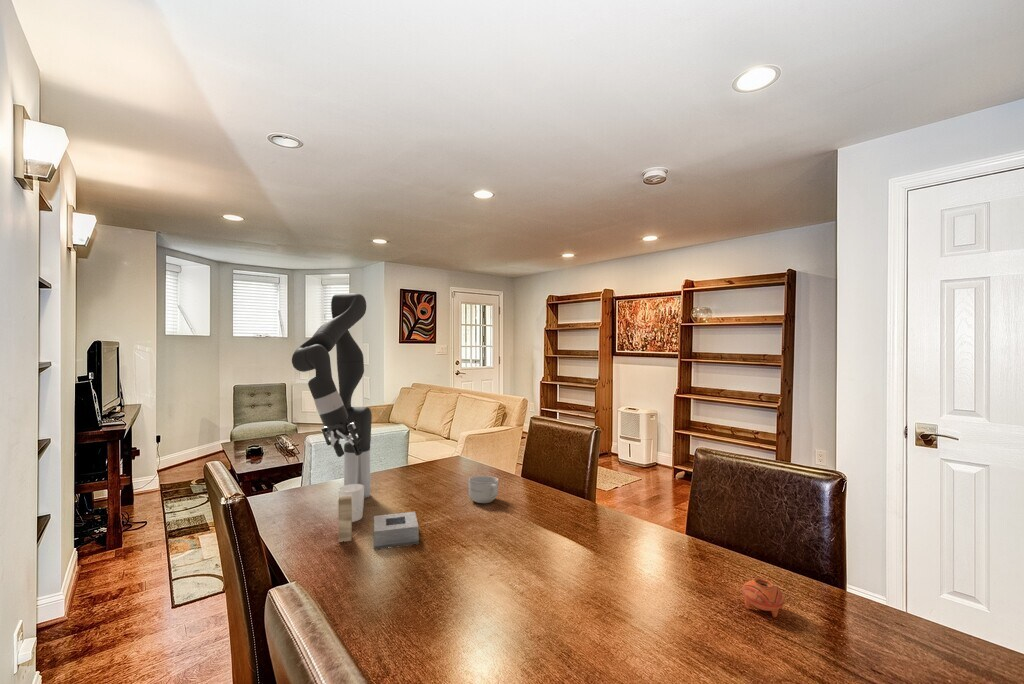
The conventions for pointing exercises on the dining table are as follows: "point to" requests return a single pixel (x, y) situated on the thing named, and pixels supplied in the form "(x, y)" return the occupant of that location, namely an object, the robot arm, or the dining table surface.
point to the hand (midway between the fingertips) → (350, 455)
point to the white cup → (354, 499)
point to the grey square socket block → (395, 530)
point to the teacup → (483, 488)
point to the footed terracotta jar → (763, 595)
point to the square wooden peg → (345, 518)
